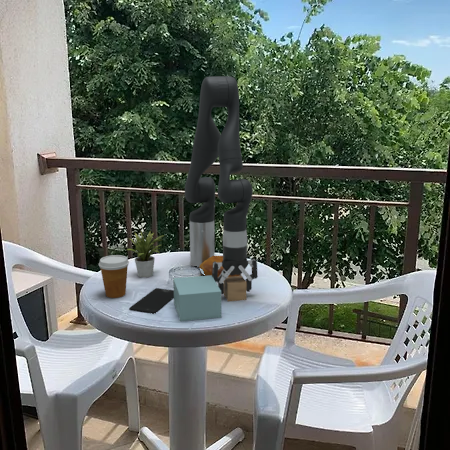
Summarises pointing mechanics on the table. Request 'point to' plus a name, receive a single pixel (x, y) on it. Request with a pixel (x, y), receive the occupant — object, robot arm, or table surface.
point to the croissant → (208, 266)
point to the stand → (197, 298)
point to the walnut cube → (235, 288)
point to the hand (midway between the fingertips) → (234, 292)
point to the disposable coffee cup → (114, 275)
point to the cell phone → (153, 301)
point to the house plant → (145, 255)
